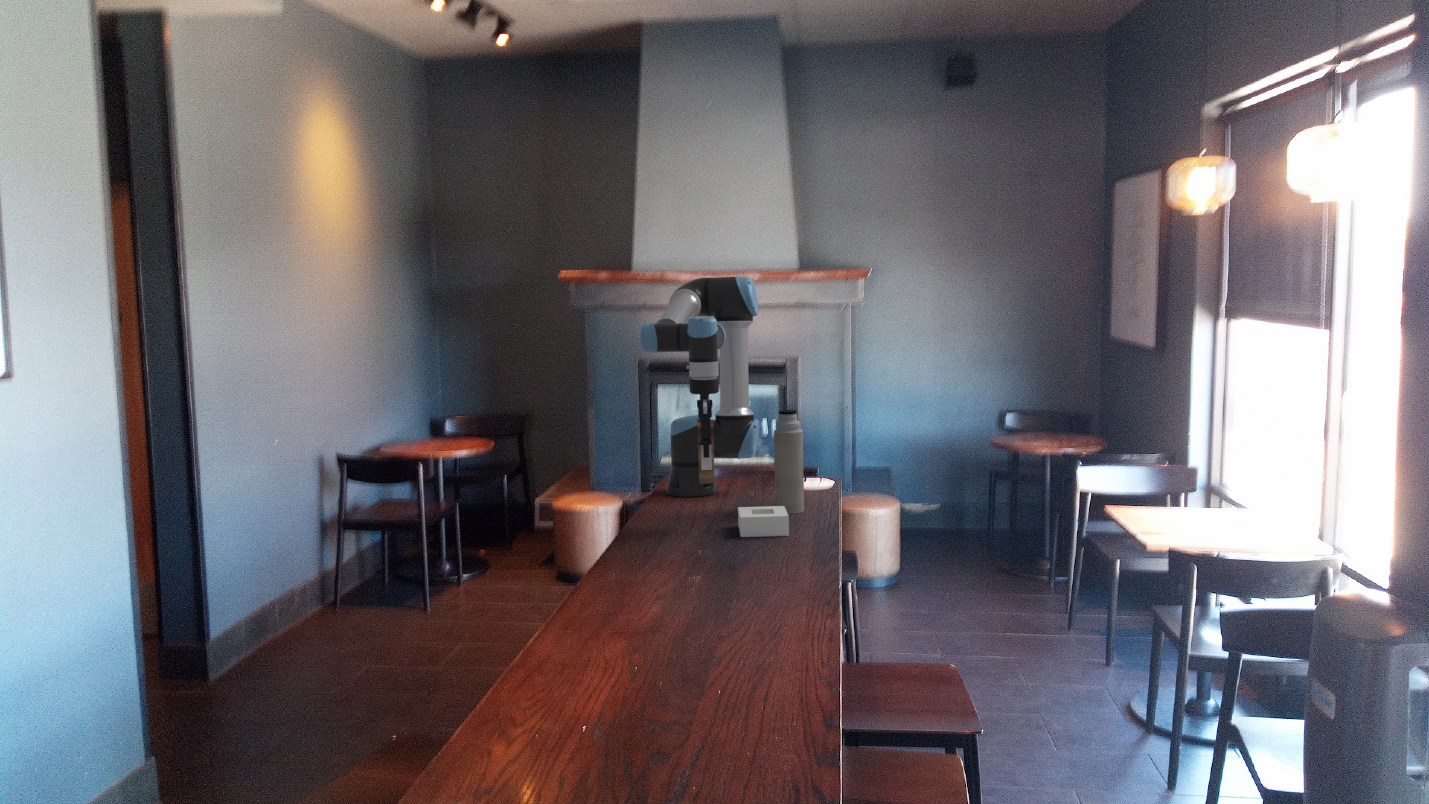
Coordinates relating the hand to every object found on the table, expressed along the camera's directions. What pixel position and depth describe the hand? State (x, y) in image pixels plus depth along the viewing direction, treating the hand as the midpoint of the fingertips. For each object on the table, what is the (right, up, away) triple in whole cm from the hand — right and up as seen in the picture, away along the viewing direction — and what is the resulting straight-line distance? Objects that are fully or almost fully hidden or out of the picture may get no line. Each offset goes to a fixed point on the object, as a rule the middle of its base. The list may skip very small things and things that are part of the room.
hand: (706, 467), depth 274 cm
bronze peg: (0, -4, 0) cm, 4 cm away
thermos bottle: (+23, -13, +19) cm, 32 cm away
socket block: (+14, -16, -4) cm, 22 cm away
